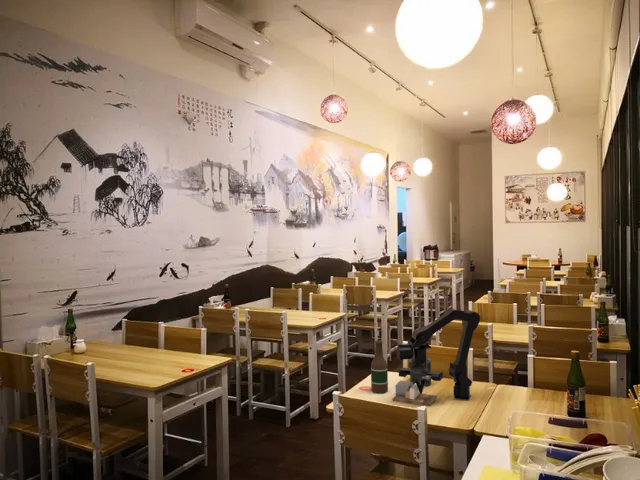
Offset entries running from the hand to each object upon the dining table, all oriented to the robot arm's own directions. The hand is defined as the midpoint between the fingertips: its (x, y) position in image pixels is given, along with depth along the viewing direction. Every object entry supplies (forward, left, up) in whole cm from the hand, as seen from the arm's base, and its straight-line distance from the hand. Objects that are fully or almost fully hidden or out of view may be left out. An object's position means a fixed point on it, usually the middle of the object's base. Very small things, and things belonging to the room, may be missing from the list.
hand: (421, 393), depth 223 cm
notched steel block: (+8, -2, -2) cm, 9 cm away
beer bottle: (+21, -4, -3) cm, 22 cm away
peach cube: (+5, +3, -2) cm, 6 cm away
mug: (+8, -24, -3) cm, 26 cm away
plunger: (+6, 0, -2) cm, 7 cm away
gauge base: (+3, 0, -3) cm, 4 cm away
